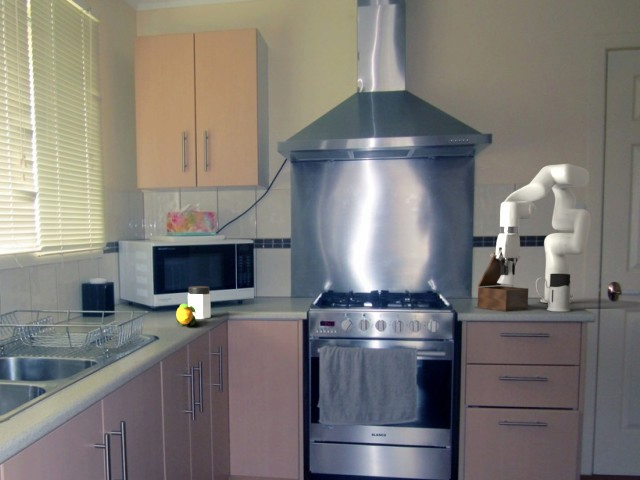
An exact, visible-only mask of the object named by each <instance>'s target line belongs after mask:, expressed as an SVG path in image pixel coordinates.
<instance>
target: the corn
mask: <svg viewBox="0 0 640 480" xmlns="http://www.w3.org/2000/svg"><path fill="white" fill-rule="evenodd" d="M193 312H194V313H195V314H196V310H195V308H194V307H193V306H192V305H191V306H190V307H189V306H188V303H181V304H180V305H179V307H178V308H177V310H176V314H175V316H176V319H175V320H176V322H177V323H178V324H179V325H180V326H184V325H189V324H190V326H191V327H192V326H193V325H194V324H195V322H196V320H197V319H196V318H195V315H193Z"/></svg>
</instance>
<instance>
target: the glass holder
mask: <svg viewBox="0 0 640 480" xmlns="http://www.w3.org/2000/svg"><path fill="white" fill-rule="evenodd" d="M540 279H543V280H544V283H545V282H546V287H547V281H546V279H545V277H542V276H540V277H538V278H537V279H536V281H535V289H536V293H537V294H538V296H539V297H540V298H541V299H544V296H542V295H541V293H540V291H539V289H538V282H539V280H540ZM547 288H549V302H548V301H547V300H545V299H544V300H545V301H546V302H547V303H546V304H547V306H548V307H547V308H546V311H550V312H561V313H562V312H565V313H566V312H570V311H571V308H570V304H571V303H570V300H571V298H570V293H571V274H570V273H568V274H550V286H549V287H547Z"/></svg>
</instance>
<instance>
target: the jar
mask: <svg viewBox="0 0 640 480" xmlns="http://www.w3.org/2000/svg"><path fill="white" fill-rule="evenodd" d="M187 304H188V306H189V307H190V306H191V305H192V306H193V307H194V308H195V310H196V314H195V313H194V312H193V315H195V318H196V319H195V320H199V319H200V320H204V319H211V317H212V316H211V315H212V314H211V313H212V311H211V293H210V286H206V285H194V286H188V293H187Z"/></svg>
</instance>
